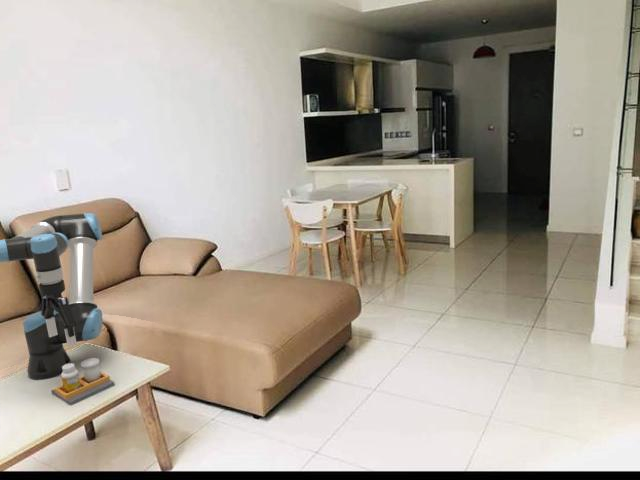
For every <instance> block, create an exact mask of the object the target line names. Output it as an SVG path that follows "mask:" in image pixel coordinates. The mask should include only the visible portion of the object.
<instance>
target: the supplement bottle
mask: <svg viewBox="0 0 640 480" xmlns="http://www.w3.org/2000/svg"><path fill="white" fill-rule="evenodd" d="M62 371H63V372H62V374H60V378H61V383H62V384H61V385H63V389H64V392H65V393H69V392H71V391H74V390H76V389H78V388H80V387H81V385H80V380H79V378H80V376H79V370H78V369H76V365H75V363H72V362H71V363H69V364H65V365H64V366H62Z"/></svg>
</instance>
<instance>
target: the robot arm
mask: <svg viewBox="0 0 640 480" xmlns="http://www.w3.org/2000/svg"><path fill="white" fill-rule="evenodd" d="M102 238H103V233H102V228H101V223H100V220H99V218H98V216H97V214H95V213H93V212H83V213H74V214H64V215H60V214H59V215H54V216H50V217H48V218H46V219H45V218H44V219H43V220H40V221H38V222H35V223H34V224H33V225H31V226H30V228H29V229H27V230H26V231H24V232H22V233H20V234H18V235H16V236H13V237H11V238H7V239H6V238H3V239H0V263H2V262H3V263H5V262H7V263H10V262H16V261H24V260H26V261H27V260H33V263H34V268H35V273H36V274H35V278H36V279H37V281H38V282H37V283H38V288H39V293H40V295H41V308H40V309H41V310H39V311H37V312H35V313H32V314H30V315H29V316H27V317H26V318H25V319H24V320H23V323H22V324H23V333H24V335H25V341H26V346H27V351H28V355H29V358H28V363H27V368H26V370H27V376H28V378H29V379H31V380H47V379H51V378H54V377H58V376H61V374H62V372H63V371H62V366H64V365H65V364H69V363H72V359H71V358H70V356H69V354H68V352H67V351H66V349H65V348H64V344H66V345H67V347H68V348H69V347H72V346H74V345H77V343H79V342H86V341H90V340H94V339H97V338H99V336H100V335H101V333H102V330H103V320H104V319H103V312H102V309H100V308H99V307H98V304H96V303H95V302H94V248H96V247H97V246H98V241H101V240H103V239H102ZM68 248H69V251H70V252H69V253H70V254H69V255H70V256H69V259H70V260H69V292H68V293H69V295H68V296H69V298H68V297H66V296H65V297H63V296H62V293H63V292H65V290H66V285H65V280H64V272H63V268H62V264H61V260H60V257H61V255H63V254H64V253H65V252H66V251H67V249H68Z"/></svg>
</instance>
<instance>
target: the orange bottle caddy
mask: <svg viewBox="0 0 640 480" xmlns="http://www.w3.org/2000/svg"><path fill="white" fill-rule="evenodd" d="M99 364H100V358H98V357H91V358H87V359H84V360H83V361H81V362H80V367H81V369H82V370H83V376H79V380H80V385H81V387H80V388H78V389H76V390H74V391H71V392H69V393H65V392H64V389H63V384H61V385H59V386H58V387H55V388H54V389H52V390H51V394H52V395H54V396H55V397H57V398H58V399H59V400H61V401H63V402H64V403H66V404H68V405H69V406H74V405H75V404H77V403H79V402H82V401H84V400H86V399H88V398H90V396H91V397H92V396H95V395H97V394H99V393H101V392H103V391H105V390H107V389H110V388H112V387H114V386H116V383H115V381H113V380H111V377H110V375H109V374H106V373H104V372H102V371H100V365H99Z"/></svg>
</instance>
